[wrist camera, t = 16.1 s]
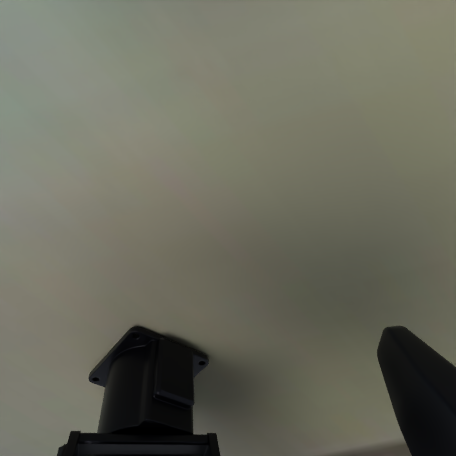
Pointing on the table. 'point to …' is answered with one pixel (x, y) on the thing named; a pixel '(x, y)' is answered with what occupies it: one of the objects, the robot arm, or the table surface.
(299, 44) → the table surface
